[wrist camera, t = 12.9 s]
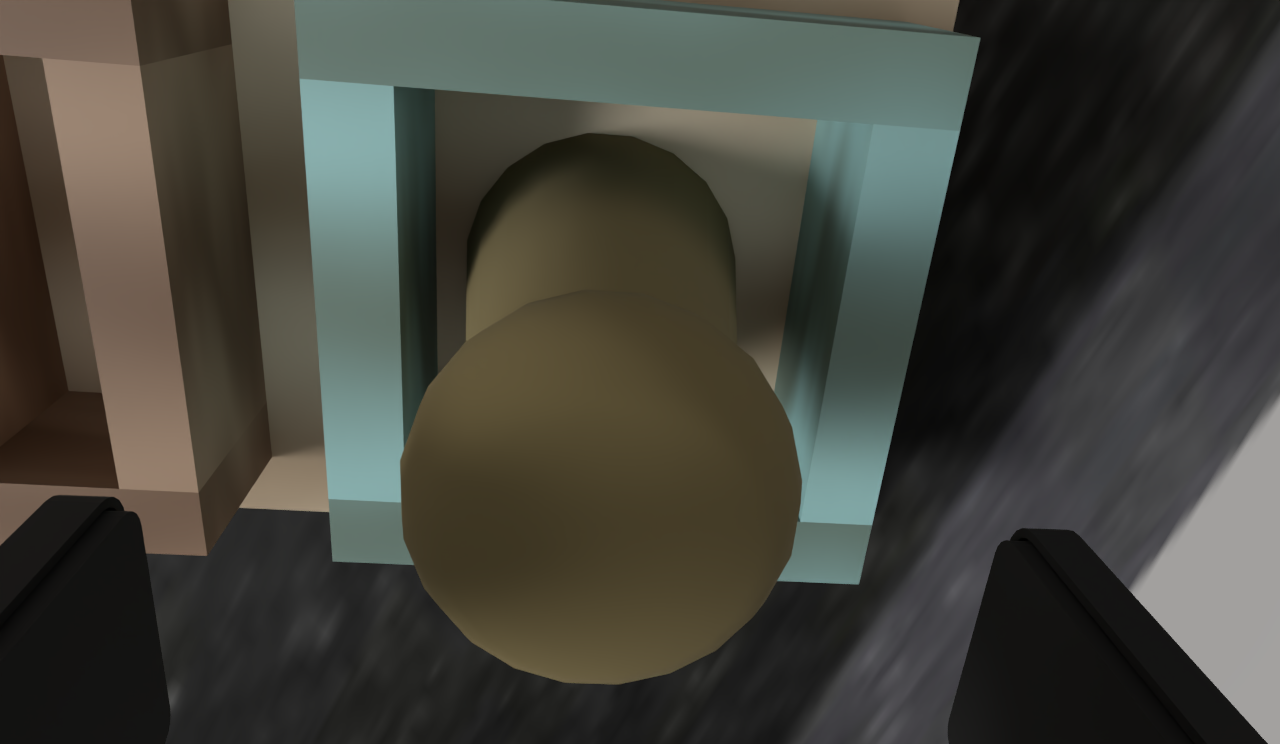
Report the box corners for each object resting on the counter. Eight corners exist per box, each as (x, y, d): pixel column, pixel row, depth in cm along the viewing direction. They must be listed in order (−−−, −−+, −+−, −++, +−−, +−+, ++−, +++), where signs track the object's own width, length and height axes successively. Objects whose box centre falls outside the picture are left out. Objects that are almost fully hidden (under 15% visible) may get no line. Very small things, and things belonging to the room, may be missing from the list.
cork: (446, 362, 21) (308, 723, 11) (490, 102, 19) (367, 264, 9) (695, 412, 22) (775, 791, 12) (768, 169, 20) (943, 387, 10)
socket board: (837, 515, 25) (891, 641, 20) (-13, 473, 23) (-163, 599, 19) (953, -55, 19) (1064, -58, 14) (-169, -161, 17) (-442, -201, 13)
